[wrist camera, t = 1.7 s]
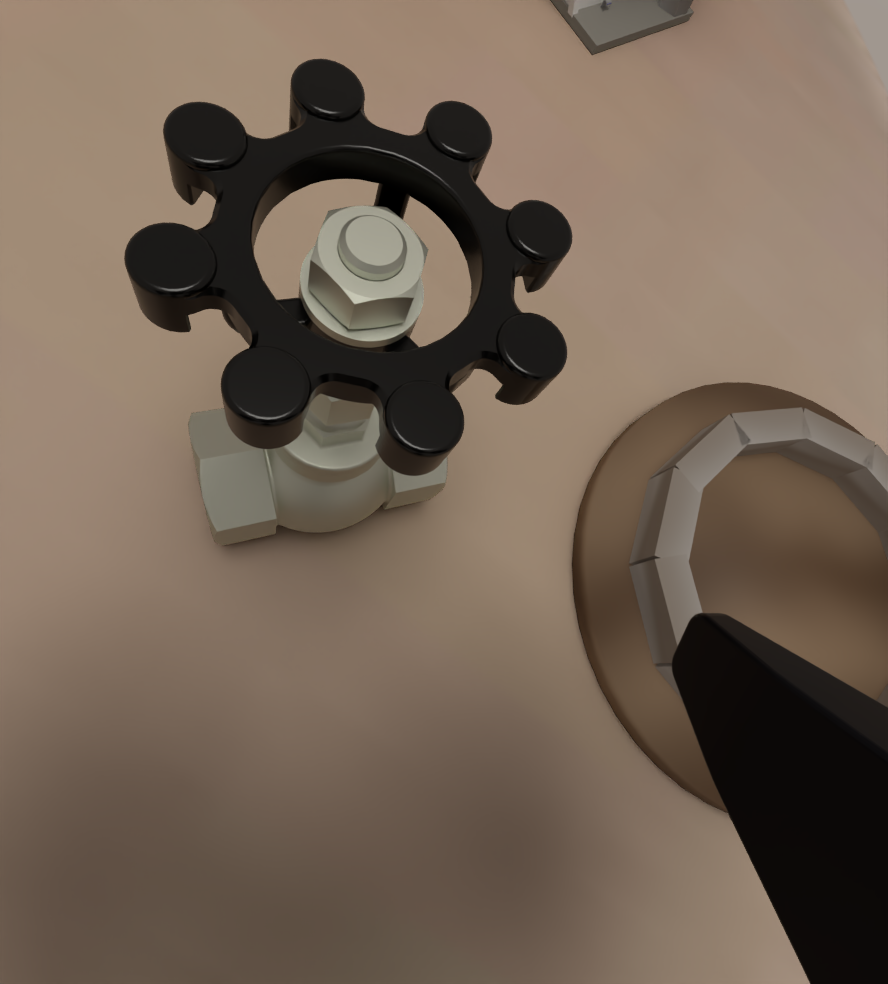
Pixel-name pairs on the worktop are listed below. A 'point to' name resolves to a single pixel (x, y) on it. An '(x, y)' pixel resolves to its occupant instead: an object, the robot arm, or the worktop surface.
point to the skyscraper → (620, 19)
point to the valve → (342, 306)
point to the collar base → (730, 552)
